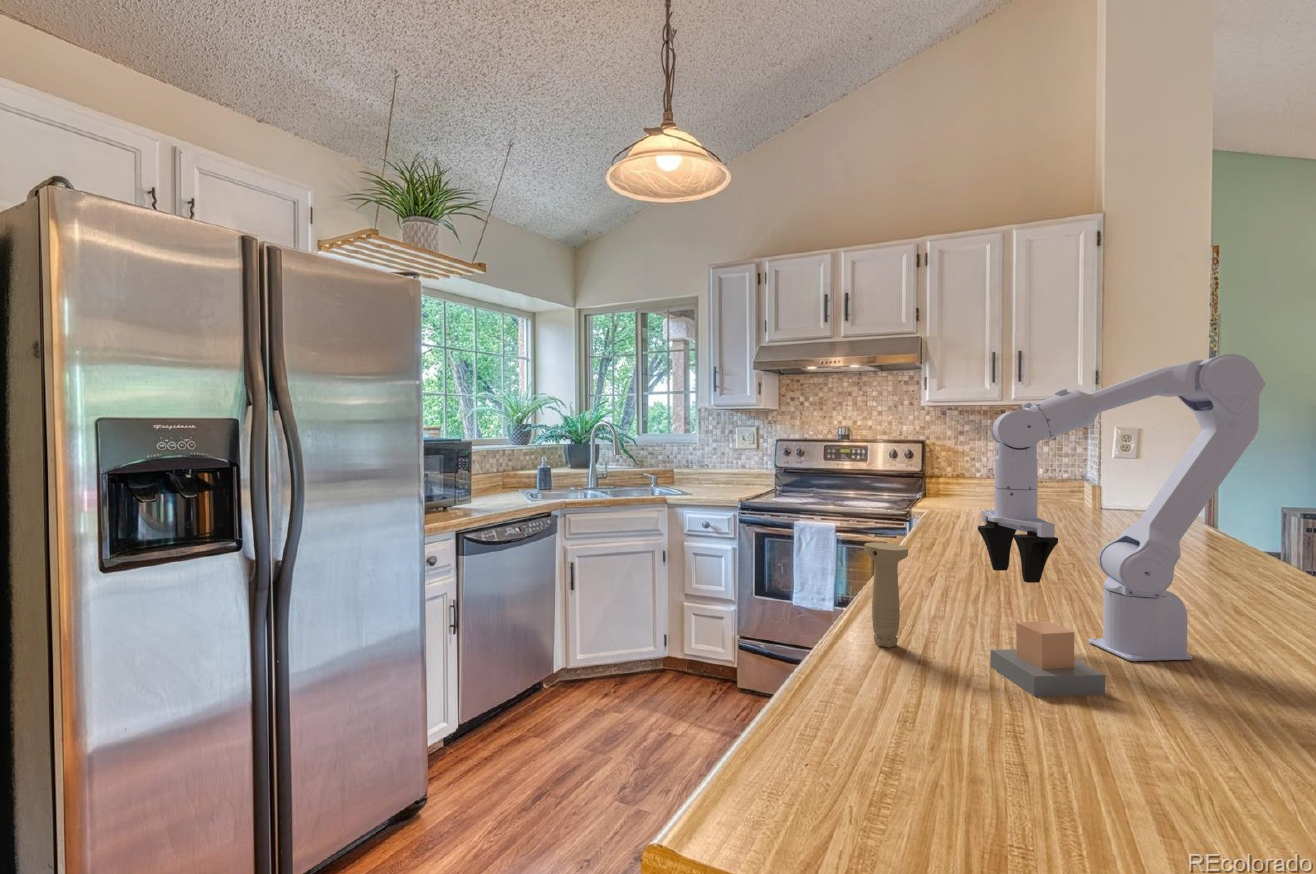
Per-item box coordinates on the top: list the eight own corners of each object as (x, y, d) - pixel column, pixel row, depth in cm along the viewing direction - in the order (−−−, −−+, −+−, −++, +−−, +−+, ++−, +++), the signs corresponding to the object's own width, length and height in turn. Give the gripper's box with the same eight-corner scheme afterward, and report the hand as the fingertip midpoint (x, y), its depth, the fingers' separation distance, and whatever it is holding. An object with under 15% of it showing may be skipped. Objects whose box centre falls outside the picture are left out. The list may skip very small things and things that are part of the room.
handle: (892, 654, 88) (892, 551, 88) (857, 641, 94) (857, 544, 94) (914, 648, 91) (914, 548, 90) (879, 635, 96) (879, 541, 96)
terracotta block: (1047, 654, 82) (1047, 621, 82) (1074, 667, 77) (1074, 632, 77) (1016, 656, 81) (1016, 622, 81) (1041, 669, 77) (1042, 633, 76)
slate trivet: (1053, 670, 84) (1054, 648, 84) (1104, 699, 75) (1105, 675, 75) (990, 671, 83) (990, 649, 83) (1034, 700, 74) (1034, 676, 74)
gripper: (964, 484, 101) (964, 565, 101) (1021, 493, 87) (1020, 588, 87) (1005, 483, 101) (1005, 565, 102) (1069, 493, 87) (1068, 587, 87)
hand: (1015, 575), depth 94 cm, fingers open, 7 cm apart
